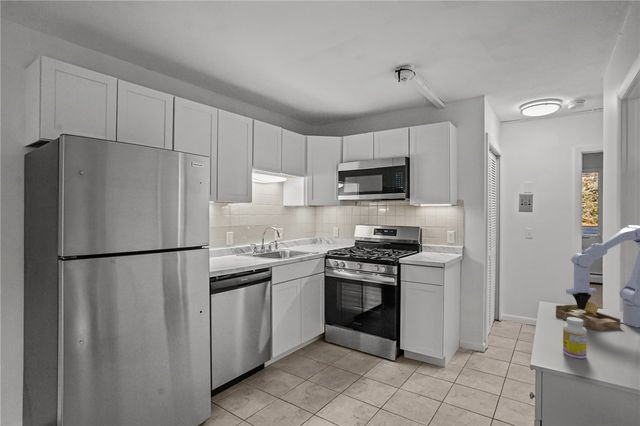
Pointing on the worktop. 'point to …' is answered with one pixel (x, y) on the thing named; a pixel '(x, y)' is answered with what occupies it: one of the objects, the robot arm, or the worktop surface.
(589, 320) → the box
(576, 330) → the supplement bottle
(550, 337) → the worktop surface
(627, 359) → the worktop surface
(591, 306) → the ochre block
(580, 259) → the robot arm
